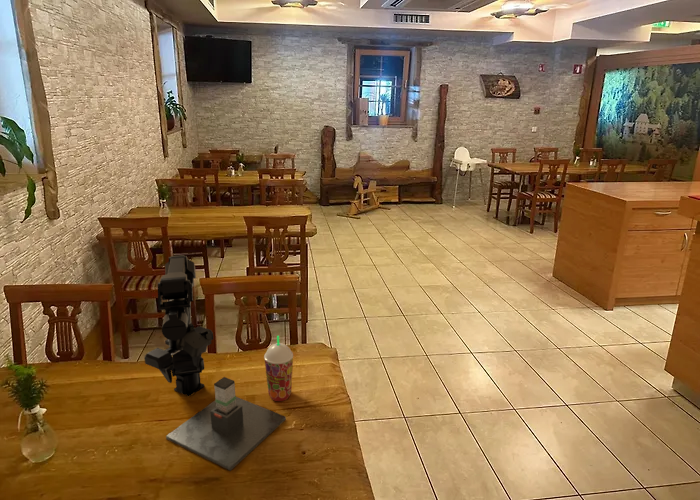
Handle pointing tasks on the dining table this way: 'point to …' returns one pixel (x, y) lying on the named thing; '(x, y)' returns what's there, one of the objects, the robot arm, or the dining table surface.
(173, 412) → the dining table surface
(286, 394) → the smoothie
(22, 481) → the dining table surface
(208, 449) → the stand base
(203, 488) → the dining table surface
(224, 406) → the column
